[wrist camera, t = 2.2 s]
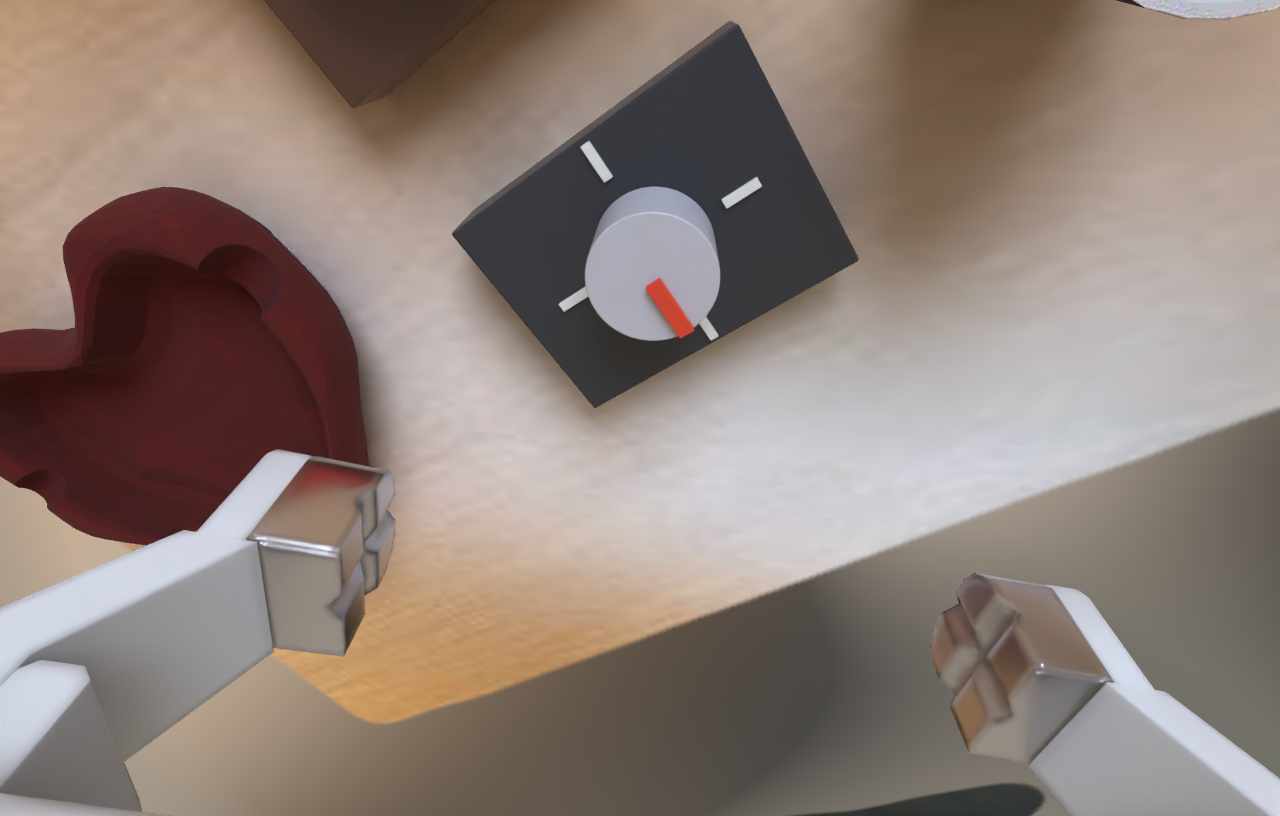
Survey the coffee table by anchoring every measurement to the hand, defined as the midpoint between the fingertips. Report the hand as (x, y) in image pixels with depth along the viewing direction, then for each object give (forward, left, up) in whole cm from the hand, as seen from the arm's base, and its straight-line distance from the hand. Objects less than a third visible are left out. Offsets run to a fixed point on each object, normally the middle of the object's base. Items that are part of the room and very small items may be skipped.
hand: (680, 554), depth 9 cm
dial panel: (+1, 0, -20) cm, 20 cm away
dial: (+1, +1, -17) cm, 17 cm away
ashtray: (+22, -4, -20) cm, 30 cm away
